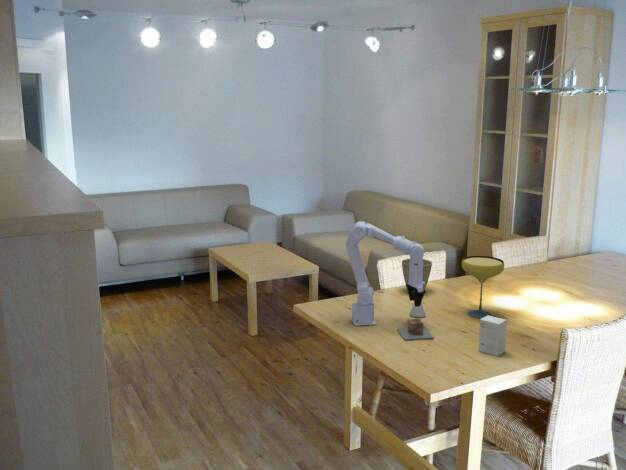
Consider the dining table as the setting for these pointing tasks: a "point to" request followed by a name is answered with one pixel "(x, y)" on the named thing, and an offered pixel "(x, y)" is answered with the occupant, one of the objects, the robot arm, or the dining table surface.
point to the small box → (492, 335)
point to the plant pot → (426, 271)
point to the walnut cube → (415, 326)
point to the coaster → (409, 337)
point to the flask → (417, 311)
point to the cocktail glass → (482, 275)
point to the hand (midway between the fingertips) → (414, 303)
